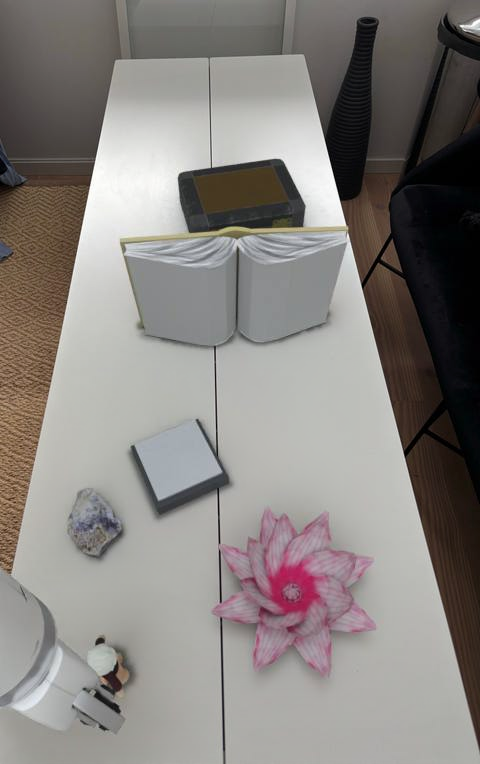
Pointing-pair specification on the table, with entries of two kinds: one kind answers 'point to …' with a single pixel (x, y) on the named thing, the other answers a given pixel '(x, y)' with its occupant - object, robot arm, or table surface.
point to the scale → (179, 465)
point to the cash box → (241, 197)
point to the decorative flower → (295, 590)
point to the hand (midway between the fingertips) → (62, 677)
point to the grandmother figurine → (108, 665)
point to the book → (234, 281)
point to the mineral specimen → (92, 522)
